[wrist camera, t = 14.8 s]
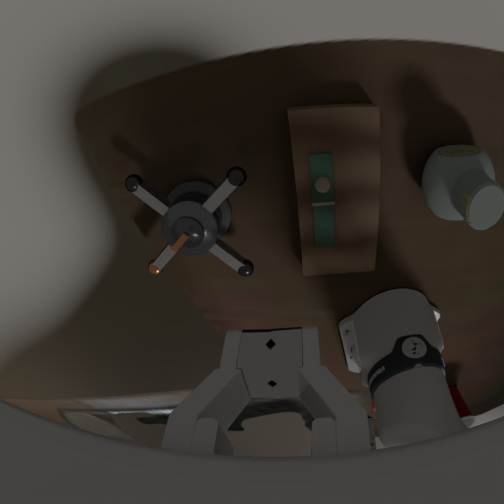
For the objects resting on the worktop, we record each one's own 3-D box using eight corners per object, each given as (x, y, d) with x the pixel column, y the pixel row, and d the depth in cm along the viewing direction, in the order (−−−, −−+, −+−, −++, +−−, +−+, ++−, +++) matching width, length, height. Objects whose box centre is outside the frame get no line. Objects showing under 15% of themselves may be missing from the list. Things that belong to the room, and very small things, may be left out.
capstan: (179, 108, 32) (165, 116, 28) (306, 214, 38) (308, 234, 35) (104, 220, 41) (89, 237, 38) (210, 297, 48) (204, 319, 44)
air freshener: (415, 206, 38) (445, 248, 29) (412, 148, 33) (447, 178, 25) (479, 195, 35) (516, 232, 27) (480, 140, 31) (524, 167, 22)
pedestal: (237, 237, 43) (236, 241, 42) (175, 242, 44) (174, 246, 43) (224, 175, 38) (223, 178, 37) (158, 185, 39) (155, 188, 38)
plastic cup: (472, 379, 61) (484, 417, 51) (450, 400, 67) (459, 436, 57) (444, 380, 61) (455, 421, 51) (422, 402, 67) (430, 440, 57)
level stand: (370, 260, 43) (377, 279, 39) (302, 265, 45) (303, 284, 41) (373, 103, 31) (384, 109, 27) (286, 107, 32) (287, 113, 29)
